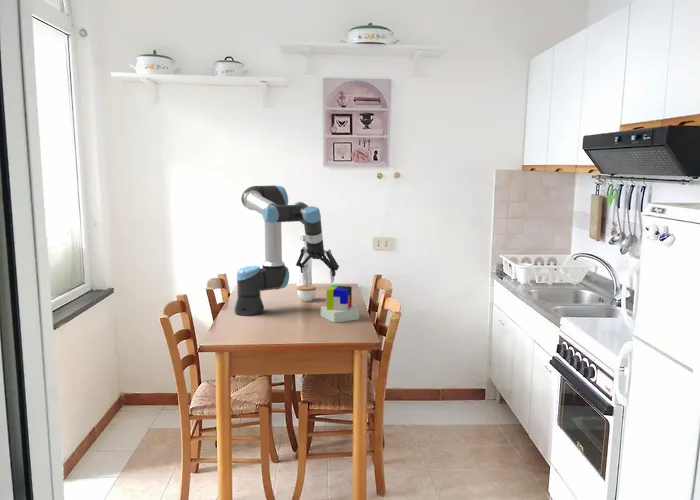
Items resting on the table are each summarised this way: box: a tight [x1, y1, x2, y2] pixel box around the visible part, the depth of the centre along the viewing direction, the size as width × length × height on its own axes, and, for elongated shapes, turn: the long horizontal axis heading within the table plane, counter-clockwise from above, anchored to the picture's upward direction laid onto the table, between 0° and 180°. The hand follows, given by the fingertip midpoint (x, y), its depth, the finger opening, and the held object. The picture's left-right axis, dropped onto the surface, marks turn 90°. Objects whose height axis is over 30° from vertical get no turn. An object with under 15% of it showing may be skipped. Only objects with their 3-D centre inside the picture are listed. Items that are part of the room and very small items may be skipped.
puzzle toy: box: [326, 285, 353, 311], centre depth 272 cm, size 10×10×10 cm
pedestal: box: [320, 305, 360, 324], centre depth 273 cm, size 14×14×5 cm
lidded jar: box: [296, 283, 317, 303], centre depth 309 cm, size 11×11×9 cm
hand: (318, 280), depth 257 cm, fingers open, 13 cm apart
